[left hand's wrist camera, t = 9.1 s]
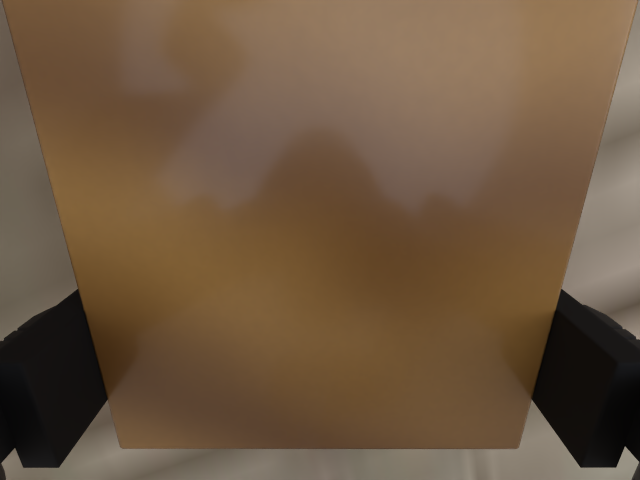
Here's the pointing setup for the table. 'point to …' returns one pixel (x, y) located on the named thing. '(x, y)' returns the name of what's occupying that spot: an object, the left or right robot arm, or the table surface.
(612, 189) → the table surface
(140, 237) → the tan rectangular mottled block
